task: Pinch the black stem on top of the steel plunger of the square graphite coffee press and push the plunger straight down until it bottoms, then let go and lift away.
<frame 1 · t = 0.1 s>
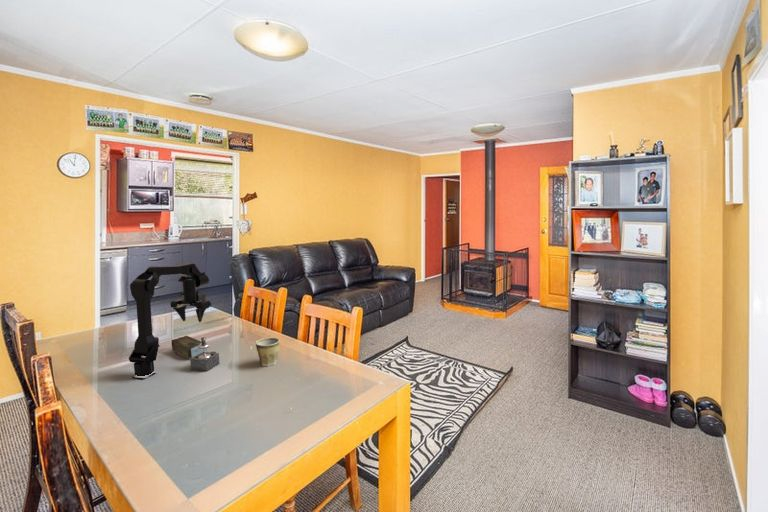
hand: (192, 321, 185), 15 cm above the table, tool pointing down, fingers open, 9 cm apart
beverage carton: (189, 354, 184), on the table
ceramic cup: (270, 362, 171), on the table
plunger: (203, 347, 166), point 9 cm above the table, slide at 0.0 cm
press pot: (205, 366, 167), on the table
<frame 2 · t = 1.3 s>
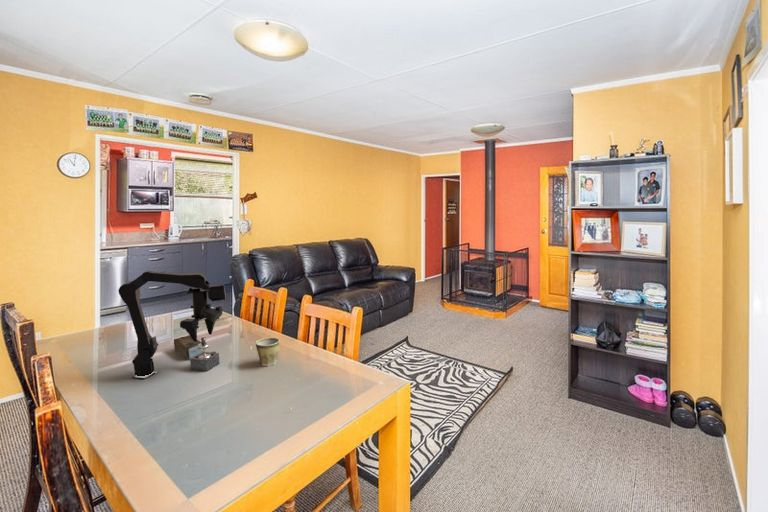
hand: (203, 337, 166), 13 cm above the table, tool pointing down, fingers open, 9 cm apart
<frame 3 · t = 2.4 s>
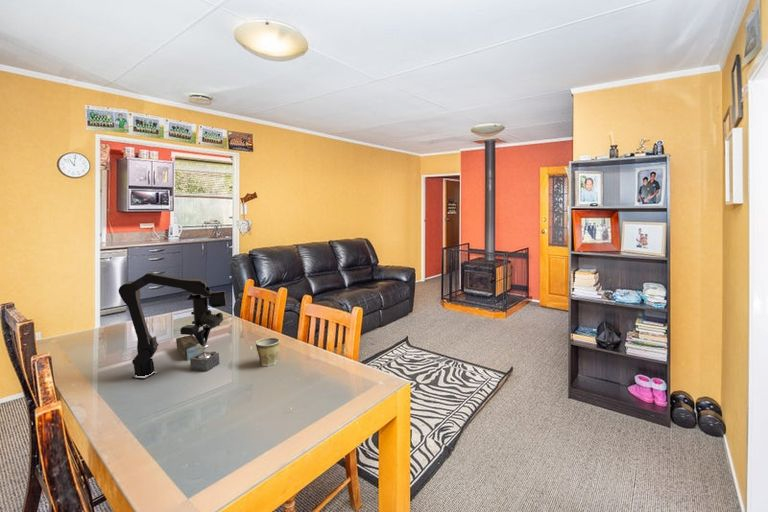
hand: (203, 344, 166), 10 cm above the table, tool pointing down, fingers closed on plunger, 2 cm apart
plunger: (203, 347, 166), point 9 cm above the table, slide at 0.0 cm, touching gripper
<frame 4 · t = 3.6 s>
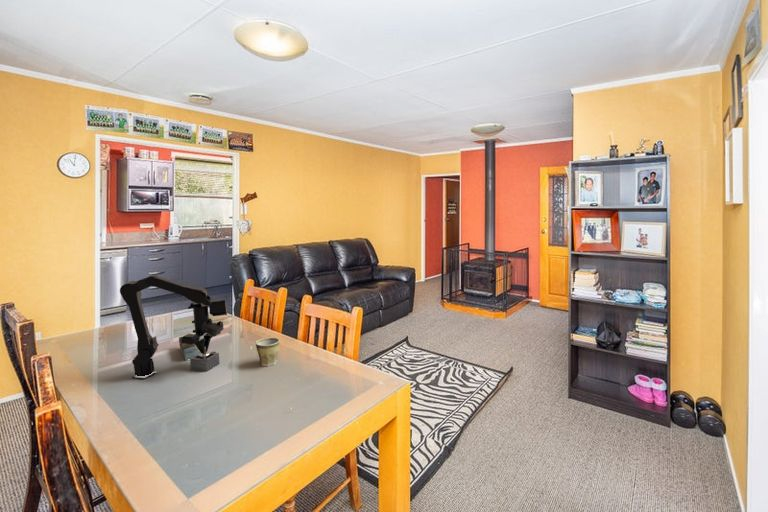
hand: (204, 352, 166), 6 cm above the table, tool pointing down, fingers closed on plunger, 2 cm apart
plunger: (204, 355, 166), point 5 cm above the table, slide at 3.8 cm, touching gripper
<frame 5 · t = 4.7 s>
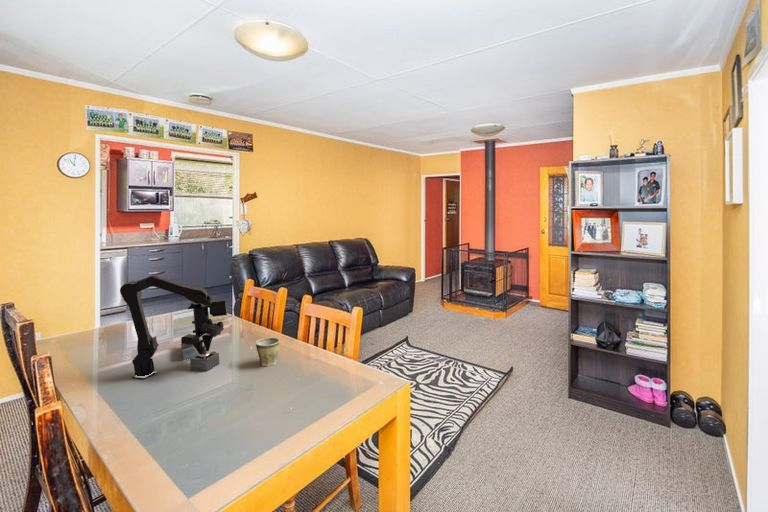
hand: (204, 352, 166), 6 cm above the table, tool pointing down, fingers open, 4 cm apart
plunger: (204, 356, 166), point 5 cm above the table, slide at 3.8 cm
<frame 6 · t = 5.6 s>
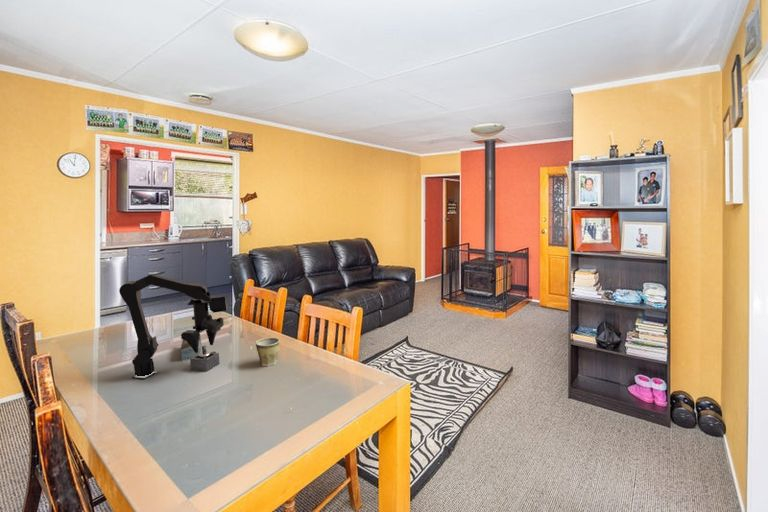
hand: (204, 348, 166), 8 cm above the table, tool pointing down, fingers open, 9 cm apart
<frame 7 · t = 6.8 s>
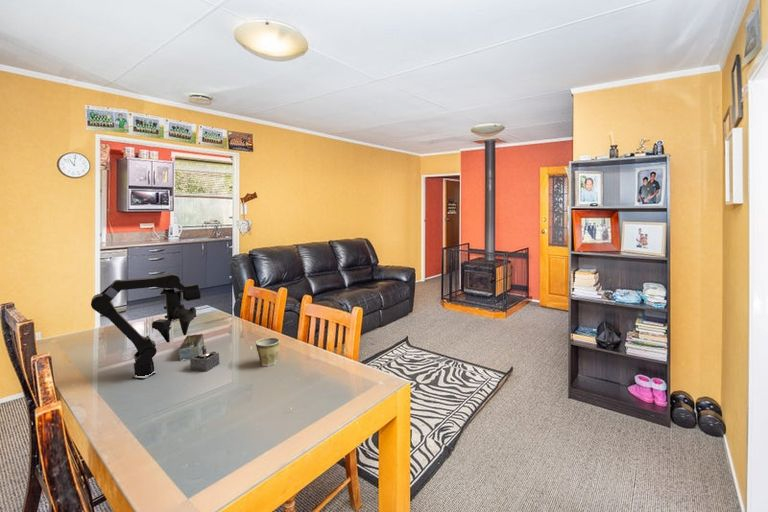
hand: (176, 338, 165), 13 cm above the table, tool pointing down, fingers open, 9 cm apart
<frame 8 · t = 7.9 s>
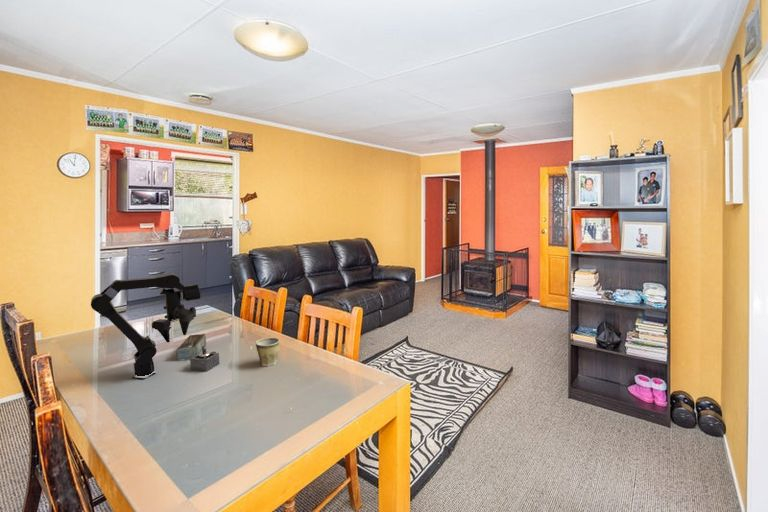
hand: (176, 338, 165), 13 cm above the table, tool pointing down, fingers open, 9 cm apart
at the end: plunger slide at 3.8 cm; the gripper is holding nothing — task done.
